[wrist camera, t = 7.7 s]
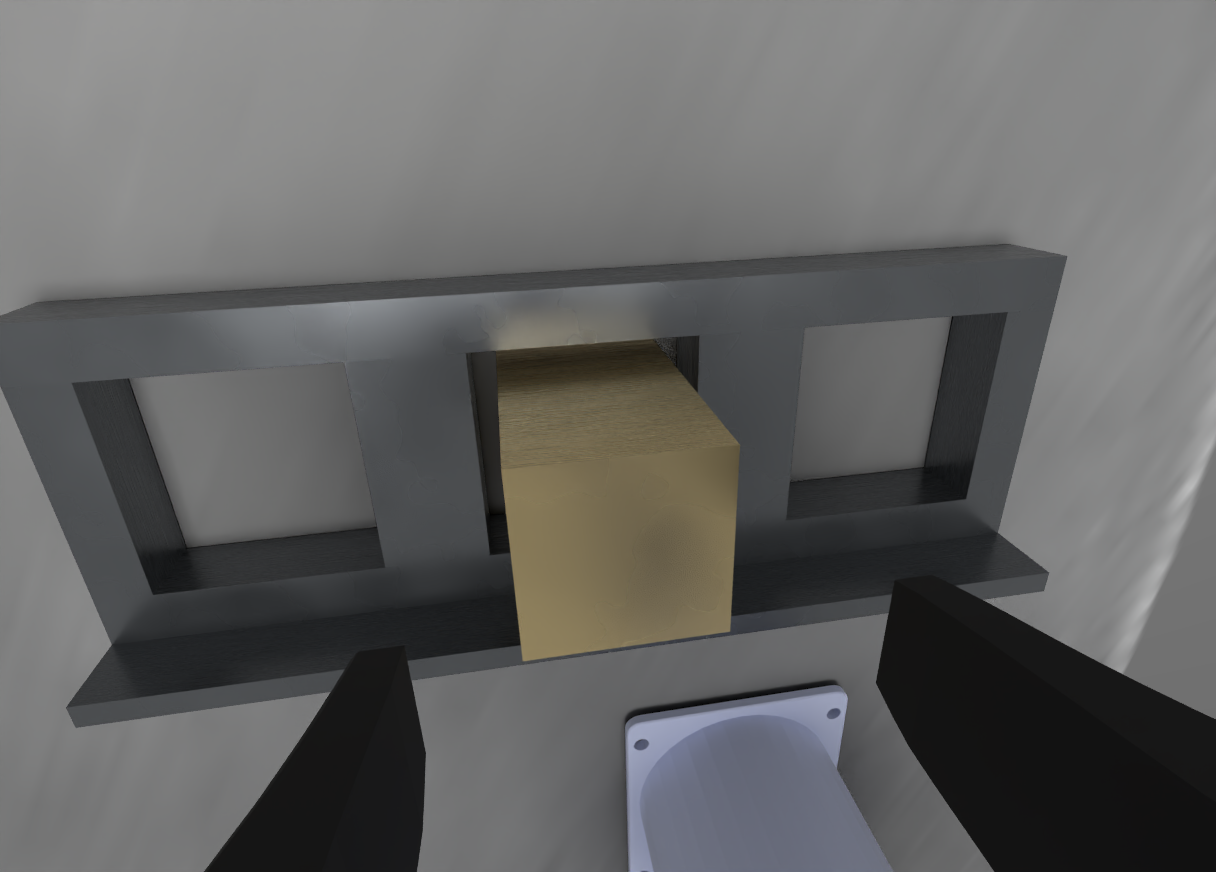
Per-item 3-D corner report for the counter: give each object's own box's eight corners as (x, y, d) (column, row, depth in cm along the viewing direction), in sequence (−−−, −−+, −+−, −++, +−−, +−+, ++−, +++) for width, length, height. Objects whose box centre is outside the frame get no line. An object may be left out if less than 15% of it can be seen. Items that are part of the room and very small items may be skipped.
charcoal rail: (951, 515, 22) (1044, 590, 18) (155, 611, 18) (75, 727, 15) (1009, 244, 18) (1139, 271, 15) (35, 302, 15) (-107, 355, 11)
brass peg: (650, 469, 19) (729, 631, 13) (510, 484, 19) (522, 661, 12) (649, 334, 18) (740, 444, 11) (495, 346, 17) (500, 469, 11)
